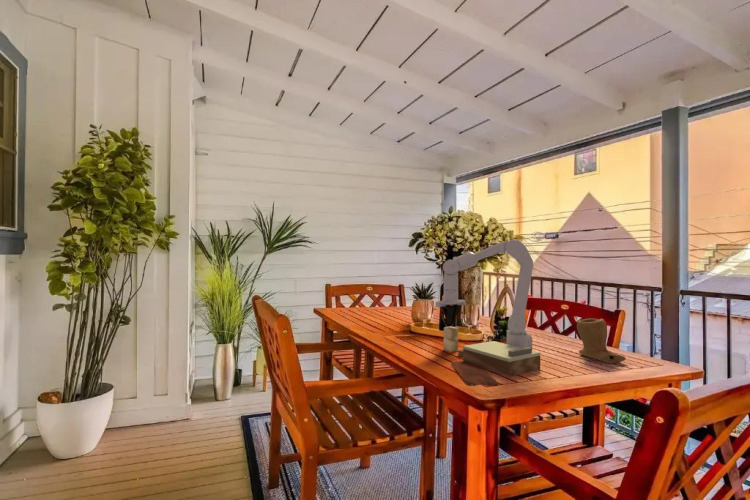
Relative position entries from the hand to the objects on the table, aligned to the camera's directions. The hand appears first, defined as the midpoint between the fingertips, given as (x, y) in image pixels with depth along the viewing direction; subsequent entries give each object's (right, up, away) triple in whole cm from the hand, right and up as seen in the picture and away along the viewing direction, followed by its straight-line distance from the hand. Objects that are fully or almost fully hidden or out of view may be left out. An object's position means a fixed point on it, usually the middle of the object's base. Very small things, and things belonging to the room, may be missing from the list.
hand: (450, 323), depth 162 cm
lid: (+14, -6, -21) cm, 26 cm away
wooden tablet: (+1, -11, -29) cm, 31 cm away
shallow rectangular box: (+12, -10, -18) cm, 24 cm away
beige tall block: (0, -10, 0) cm, 10 cm away
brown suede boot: (+52, -11, -11) cm, 55 cm away
